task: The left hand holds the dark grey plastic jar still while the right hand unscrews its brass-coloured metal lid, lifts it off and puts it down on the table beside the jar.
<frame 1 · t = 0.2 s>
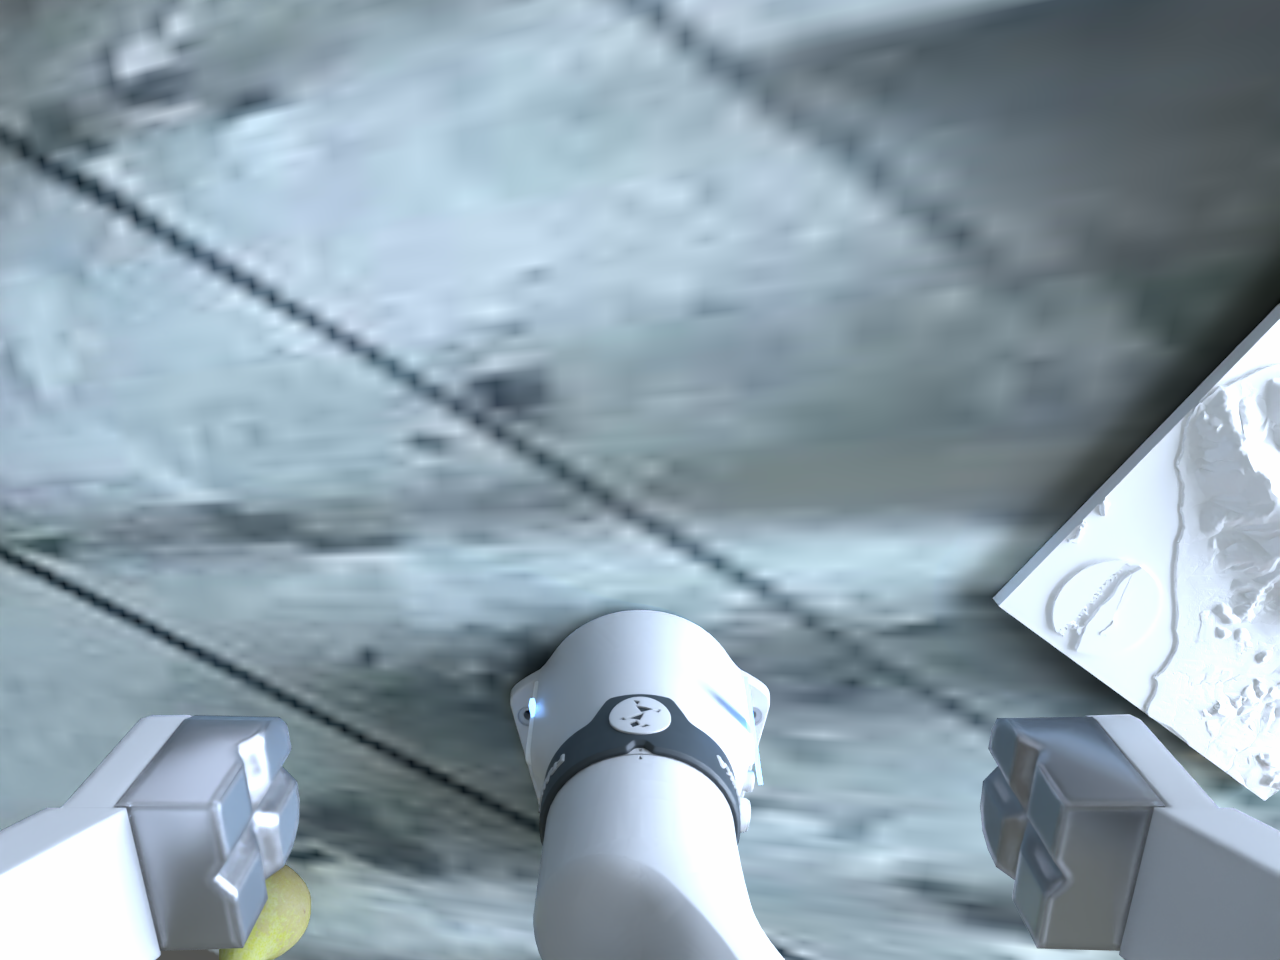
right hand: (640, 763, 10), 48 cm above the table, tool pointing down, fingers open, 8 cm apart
fruit: (283, 877, 72), on the table
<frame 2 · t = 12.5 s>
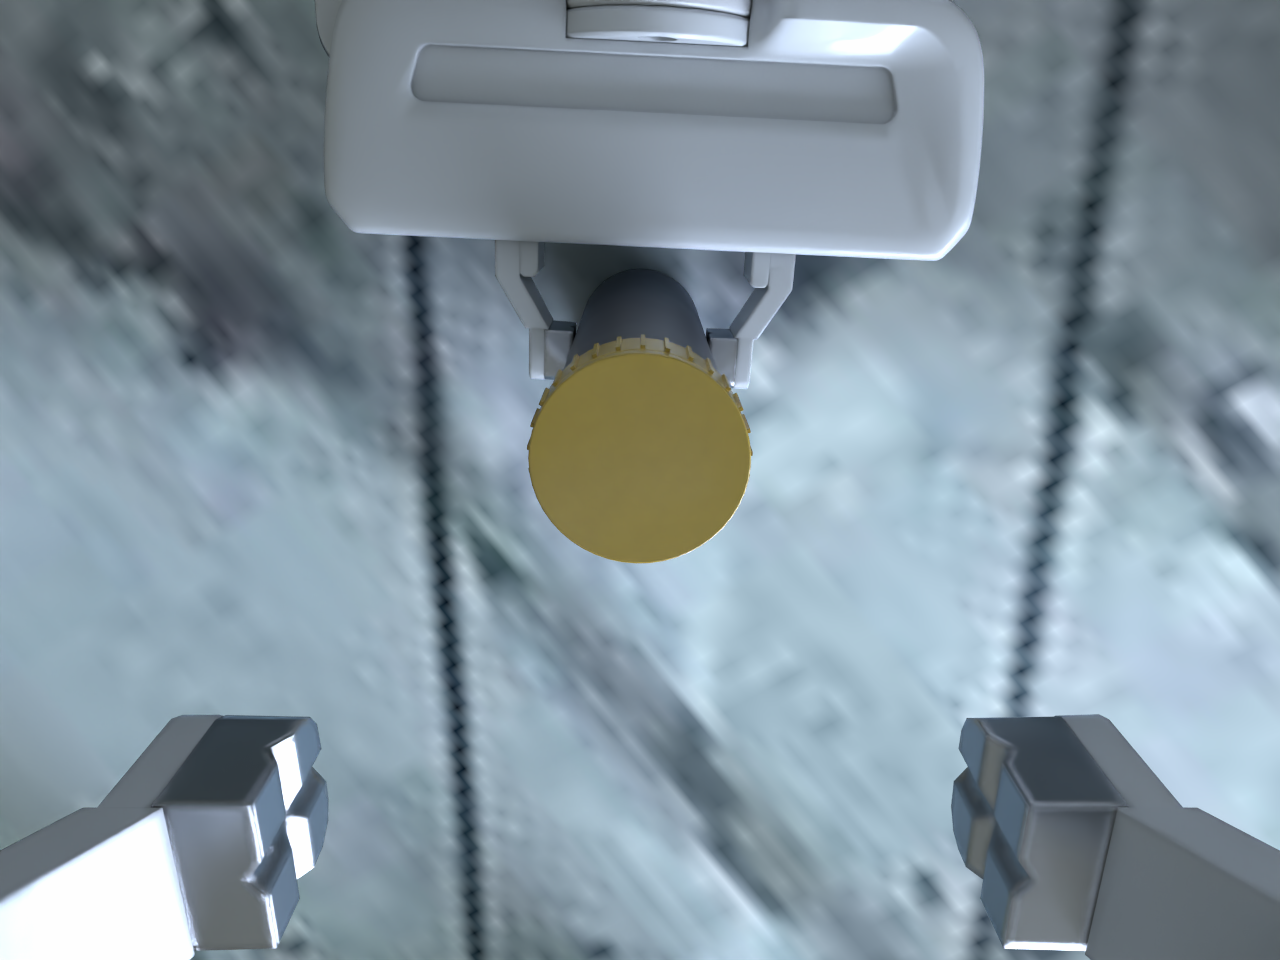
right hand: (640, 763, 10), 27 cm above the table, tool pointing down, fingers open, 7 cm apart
left hand: (640, 380, 31), fingers closed on jar, 4 cm apart
jar: (640, 328, 36), on the table, touching left hand
lid: (639, 457, 21), point 16 cm above the table, screwed on, not yet turned
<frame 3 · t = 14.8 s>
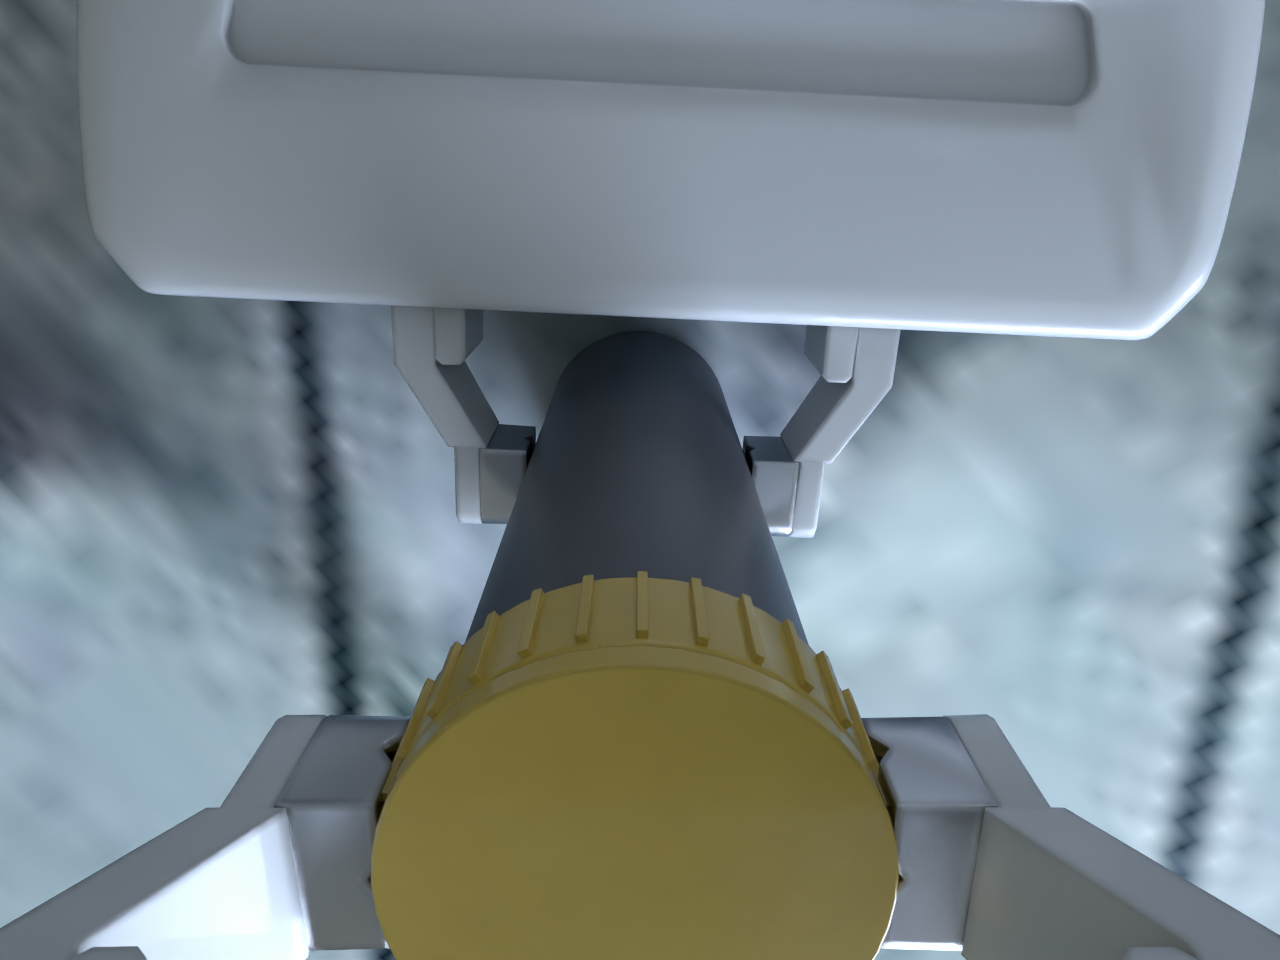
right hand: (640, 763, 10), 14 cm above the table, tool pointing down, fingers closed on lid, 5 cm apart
jar: (638, 417, 24), on the table, touching left hand
lid: (634, 866, 9), point 16 cm above the table, screwed on, not yet turned, touching right hand
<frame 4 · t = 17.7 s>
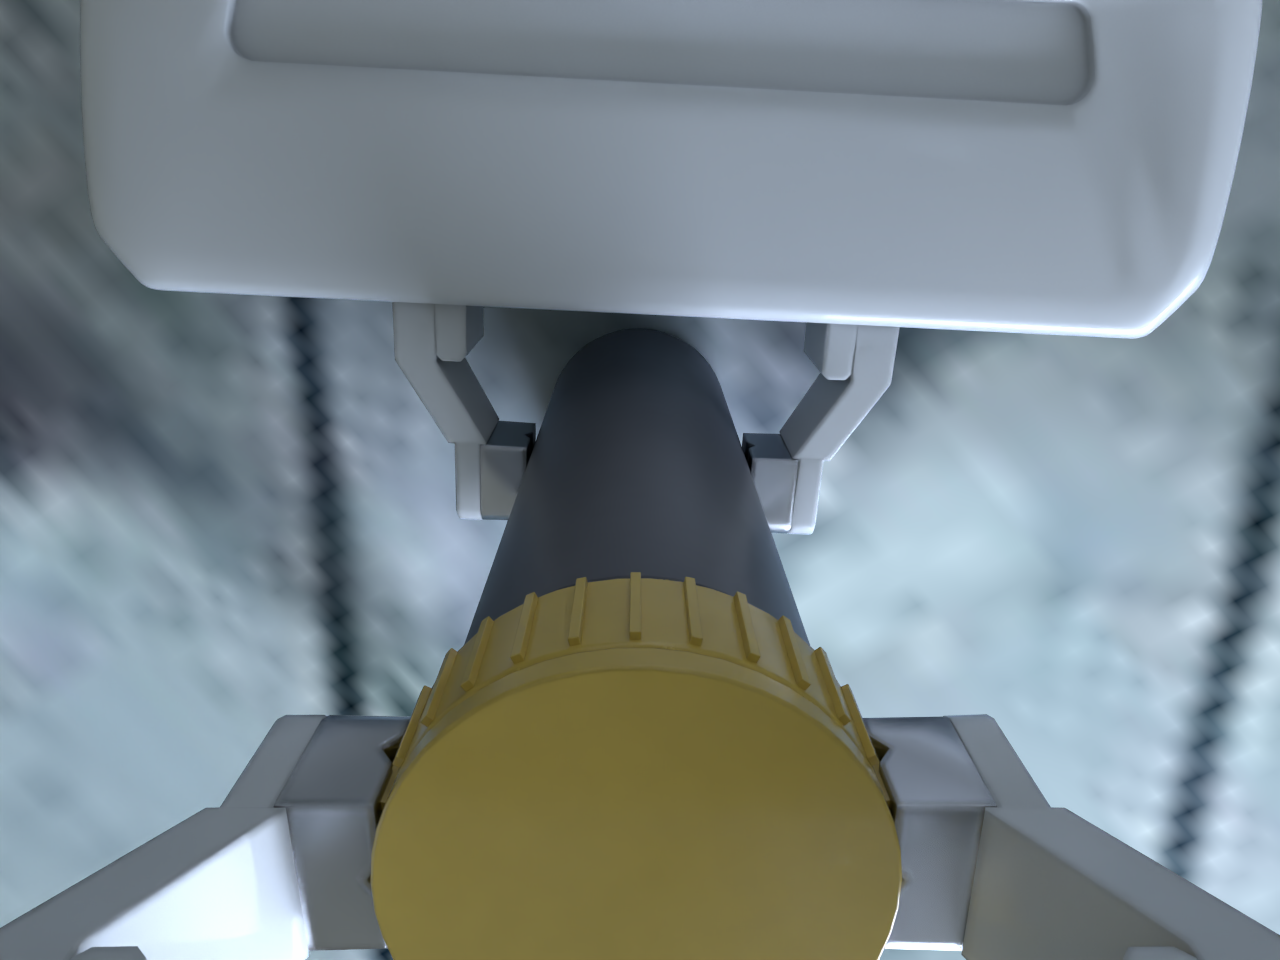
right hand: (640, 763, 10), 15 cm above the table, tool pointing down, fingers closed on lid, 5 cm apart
jar: (637, 415, 24), on the table, touching left hand
lid: (636, 869, 9), point 16 cm above the table, turned 52° so far, risen 0.1 cm, still on its thread, touching right hand
when the right hand's fingers open (2 cm above the table, at t = 26.6 s): lid drops 2 cm, point 1 cm above the table.
when the left hand's fingers open (5 cm above the table, at t = 27.7 s): jar stays where it is, on the table.
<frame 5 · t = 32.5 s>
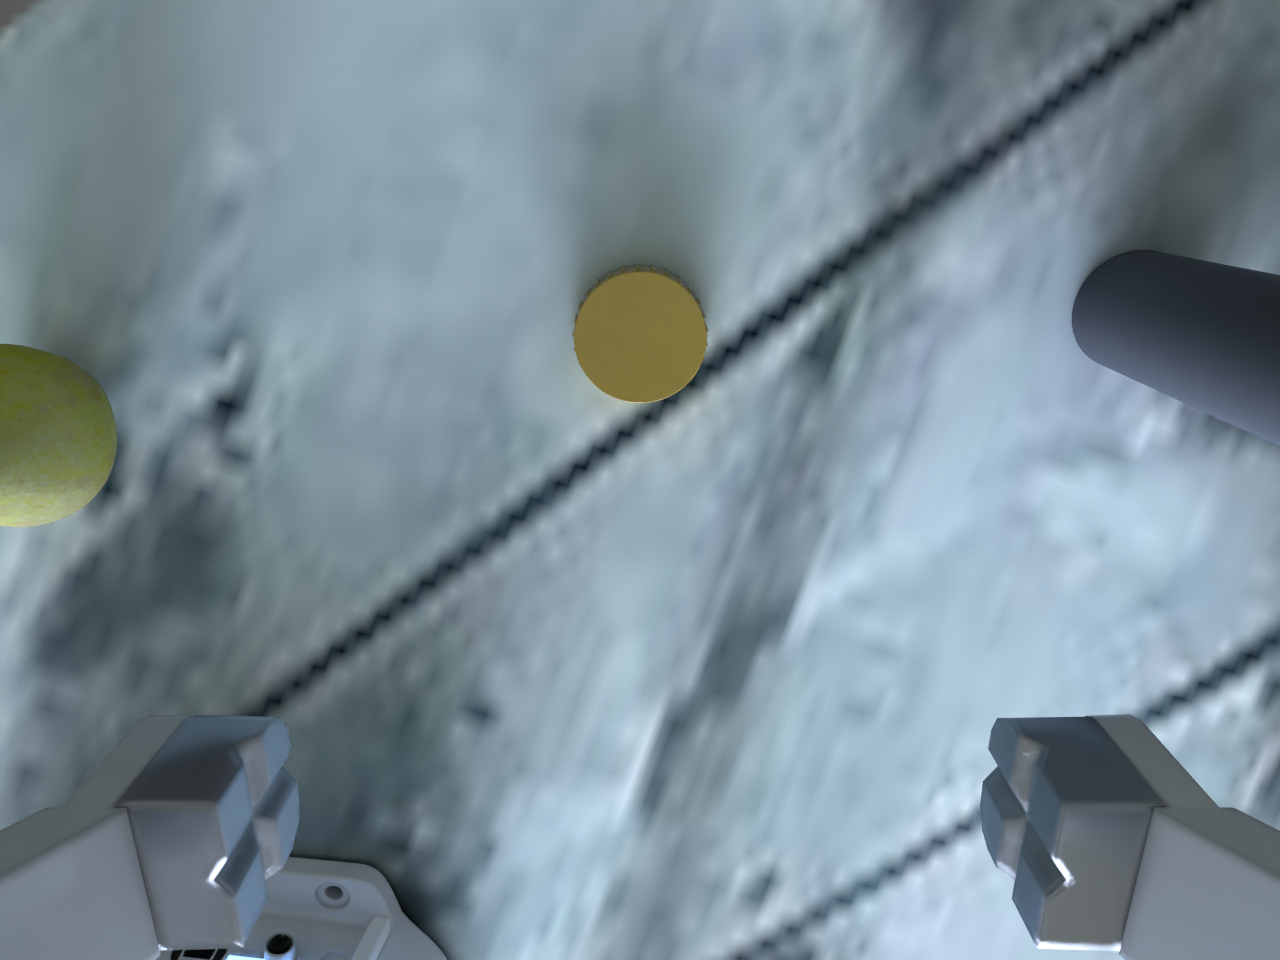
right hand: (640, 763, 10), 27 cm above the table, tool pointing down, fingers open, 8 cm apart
jar: (1130, 310, 36), on the table
fruit: (61, 410, 37), on the table
lid: (640, 337, 35), point 1 cm above the table, off its thread
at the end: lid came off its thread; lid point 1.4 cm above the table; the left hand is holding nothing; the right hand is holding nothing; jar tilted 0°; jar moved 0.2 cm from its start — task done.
